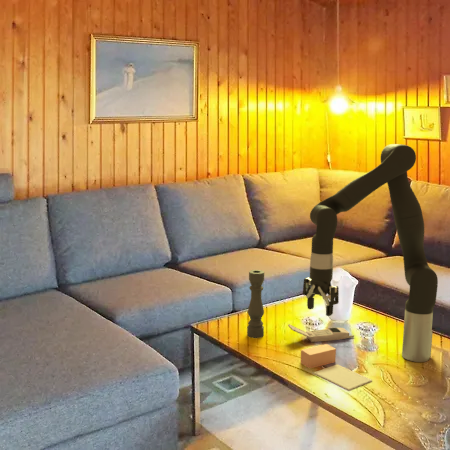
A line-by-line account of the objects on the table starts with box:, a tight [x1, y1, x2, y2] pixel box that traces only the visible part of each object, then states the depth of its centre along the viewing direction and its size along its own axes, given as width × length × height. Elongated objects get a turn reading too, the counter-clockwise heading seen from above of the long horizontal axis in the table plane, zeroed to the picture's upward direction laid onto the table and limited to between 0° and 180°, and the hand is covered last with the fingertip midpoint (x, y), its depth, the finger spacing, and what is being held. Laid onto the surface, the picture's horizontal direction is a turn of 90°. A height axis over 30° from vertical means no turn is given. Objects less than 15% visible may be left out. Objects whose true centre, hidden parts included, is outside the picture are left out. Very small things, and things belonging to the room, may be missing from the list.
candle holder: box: [246, 269, 265, 339], centre depth 236 cm, size 6×6×25 cm
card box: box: [300, 343, 337, 369], centre depth 214 cm, size 11×5×5 cm, turn 119°
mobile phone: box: [287, 324, 355, 343], centre depth 236 cm, size 6×6×25 cm
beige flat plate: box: [313, 364, 373, 391], centre depth 203 cm, size 11×15×1 cm
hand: (319, 312), depth 211 cm, fingers open, 8 cm apart
